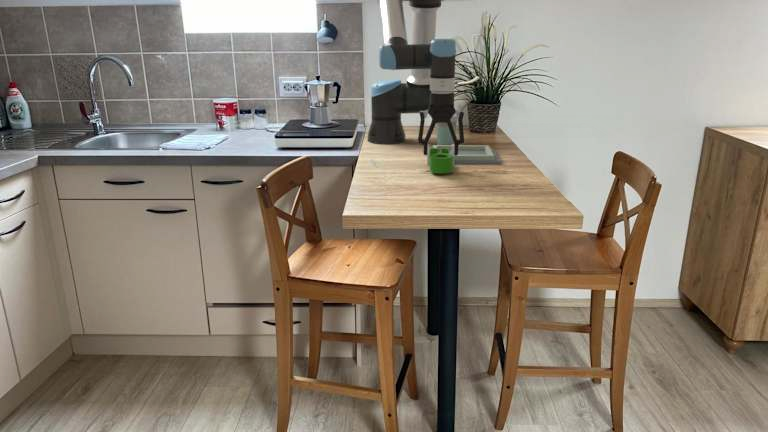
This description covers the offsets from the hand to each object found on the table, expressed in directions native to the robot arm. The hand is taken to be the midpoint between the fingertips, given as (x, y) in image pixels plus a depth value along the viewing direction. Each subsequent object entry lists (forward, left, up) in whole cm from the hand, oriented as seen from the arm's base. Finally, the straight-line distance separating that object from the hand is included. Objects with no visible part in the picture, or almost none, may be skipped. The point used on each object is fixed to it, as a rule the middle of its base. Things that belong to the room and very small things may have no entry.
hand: (440, 165), depth 185 cm
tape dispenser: (0, 0, -1) cm, 1 cm away
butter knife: (-20, +2, -2) cm, 20 cm away
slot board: (+8, +19, -2) cm, 20 cm away
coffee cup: (+3, +36, -2) cm, 36 cm away
